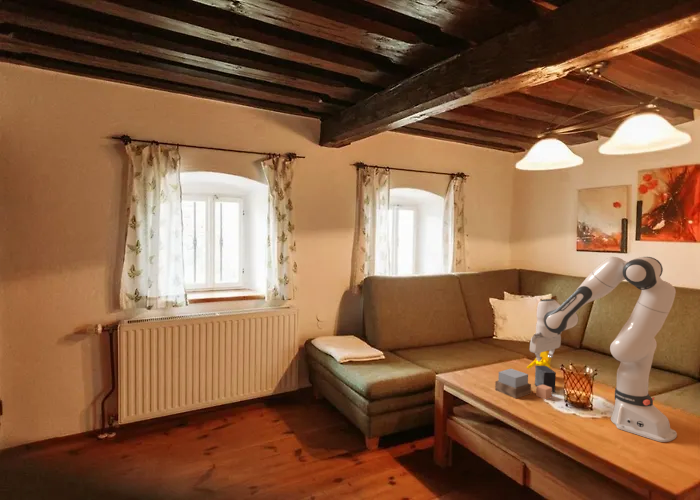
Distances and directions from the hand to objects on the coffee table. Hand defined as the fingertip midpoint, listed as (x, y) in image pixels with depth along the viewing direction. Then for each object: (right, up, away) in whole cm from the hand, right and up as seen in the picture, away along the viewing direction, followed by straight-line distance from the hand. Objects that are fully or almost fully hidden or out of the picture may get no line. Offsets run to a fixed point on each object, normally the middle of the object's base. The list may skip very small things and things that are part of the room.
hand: (544, 359), depth 200 cm
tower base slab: (-13, -19, +7) cm, 24 cm away
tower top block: (-13, -14, +7) cm, 20 cm away
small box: (+6, -19, +11) cm, 22 cm away
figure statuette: (+12, -18, +26) cm, 34 cm away
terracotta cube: (0, -19, +1) cm, 19 cm away
